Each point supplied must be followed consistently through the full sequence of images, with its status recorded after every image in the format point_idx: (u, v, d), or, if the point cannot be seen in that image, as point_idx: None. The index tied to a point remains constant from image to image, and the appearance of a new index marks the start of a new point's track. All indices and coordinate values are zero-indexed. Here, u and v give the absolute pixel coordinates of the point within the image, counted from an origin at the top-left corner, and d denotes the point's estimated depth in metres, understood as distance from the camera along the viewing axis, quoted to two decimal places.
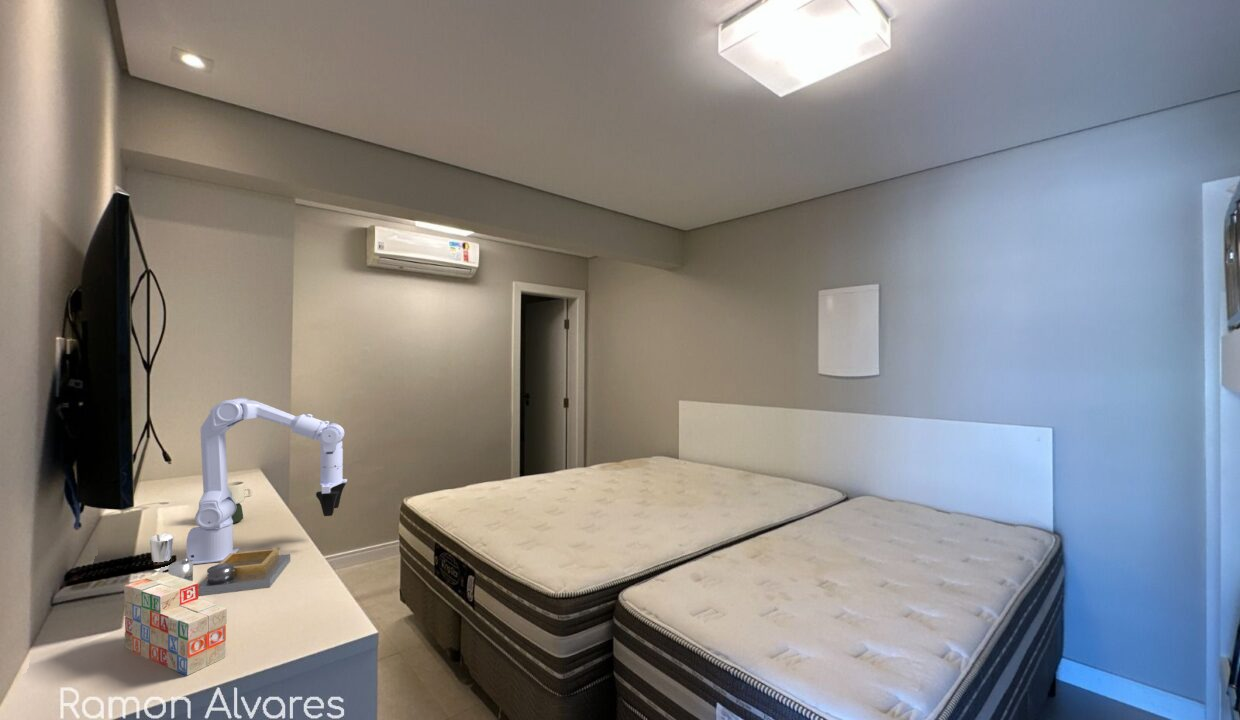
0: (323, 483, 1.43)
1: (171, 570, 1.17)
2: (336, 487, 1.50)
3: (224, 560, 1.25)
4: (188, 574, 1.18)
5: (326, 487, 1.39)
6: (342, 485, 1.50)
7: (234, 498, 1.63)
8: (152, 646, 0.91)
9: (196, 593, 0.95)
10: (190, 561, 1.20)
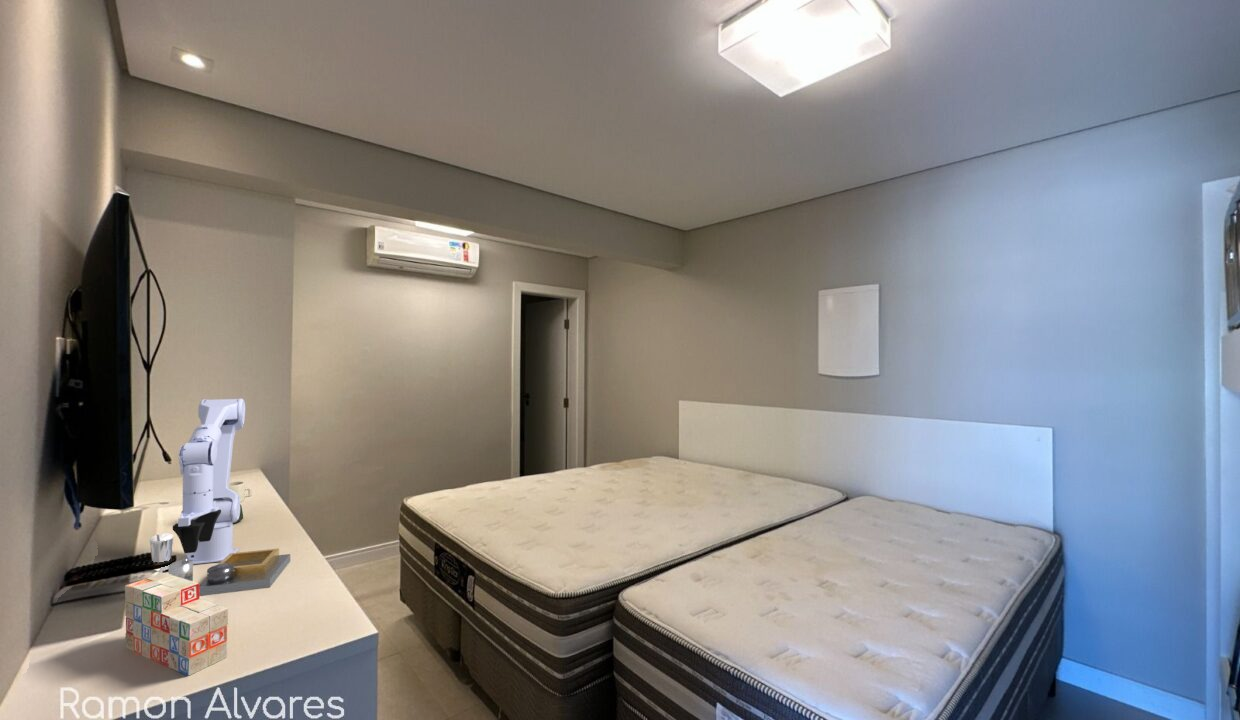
0: (185, 513, 1.18)
1: (171, 570, 1.17)
2: (207, 516, 1.25)
3: (224, 560, 1.25)
4: (188, 574, 1.18)
5: (184, 518, 1.15)
6: (215, 514, 1.25)
7: None
8: (153, 646, 0.91)
9: (197, 594, 0.95)
10: (190, 561, 1.20)
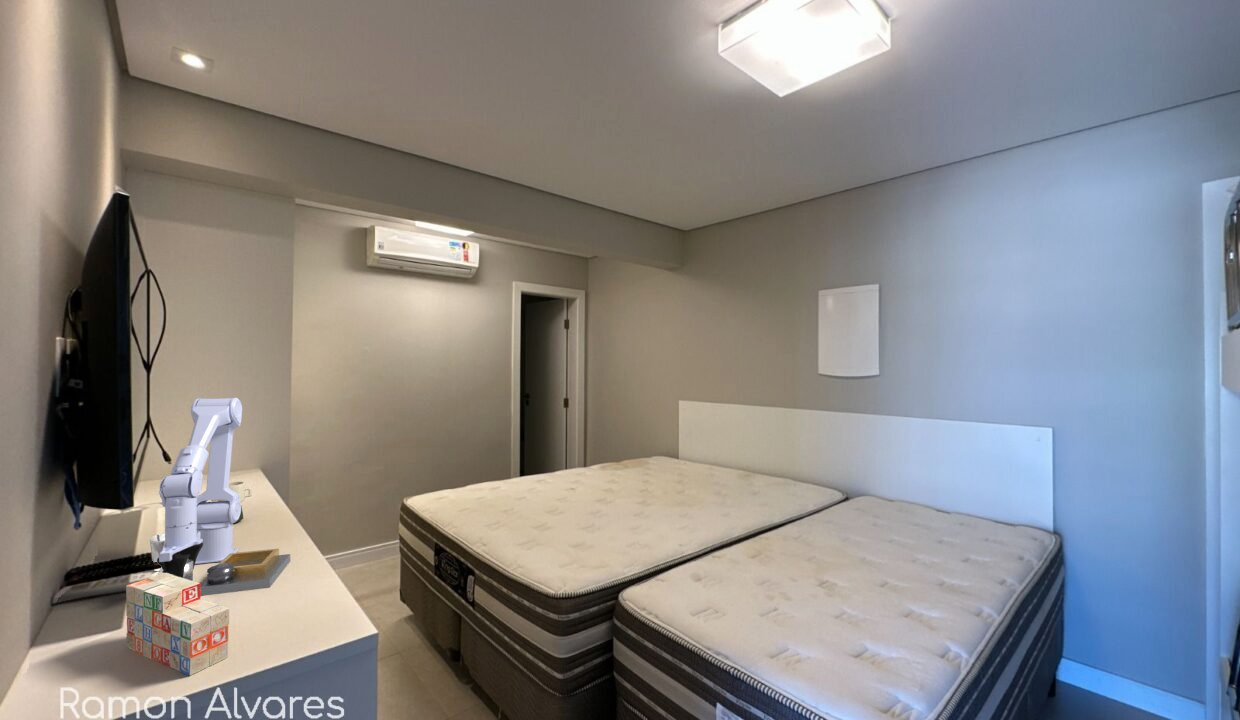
0: (167, 547, 1.16)
1: None
2: (188, 550, 1.21)
3: (224, 560, 1.25)
4: (188, 574, 1.18)
5: (165, 554, 1.12)
6: (196, 547, 1.22)
7: None
8: (154, 646, 0.91)
9: (198, 593, 0.95)
10: (190, 561, 1.20)
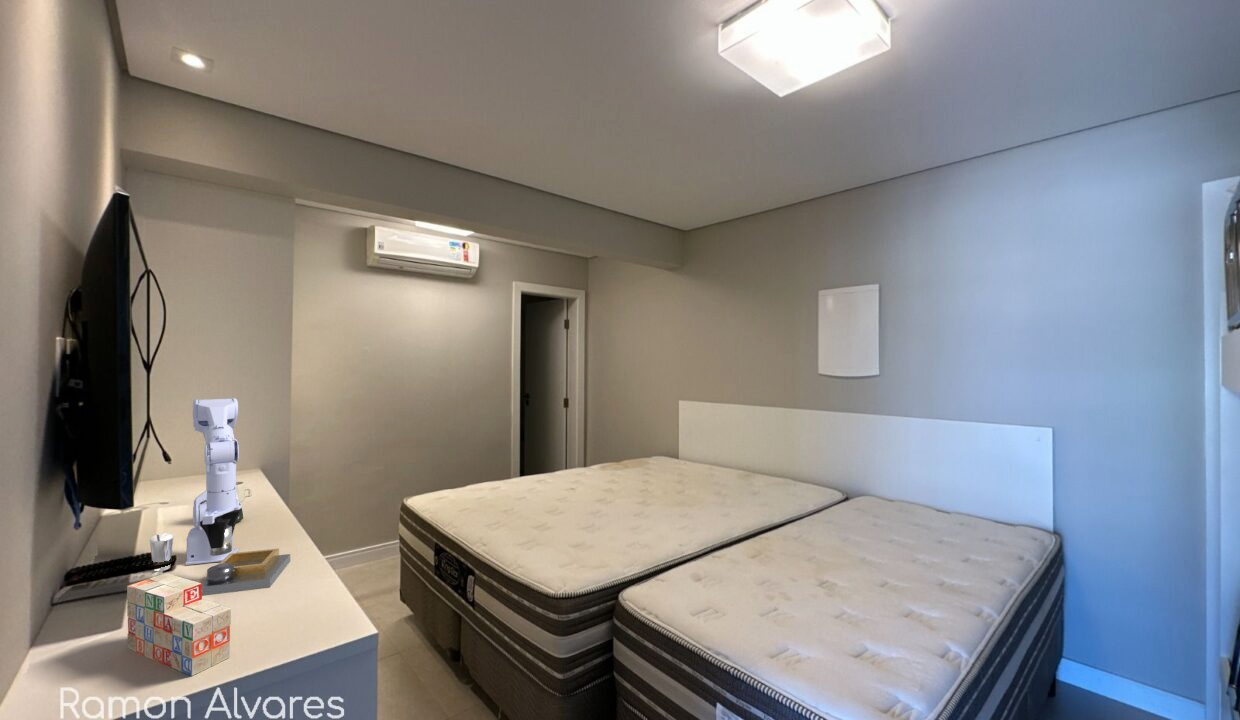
0: (209, 511, 1.20)
1: None
2: (228, 516, 1.26)
3: (224, 560, 1.25)
4: (228, 538, 1.23)
5: (208, 517, 1.17)
6: (236, 513, 1.26)
7: None
8: (156, 647, 0.91)
9: (200, 594, 0.95)
10: (229, 526, 1.24)
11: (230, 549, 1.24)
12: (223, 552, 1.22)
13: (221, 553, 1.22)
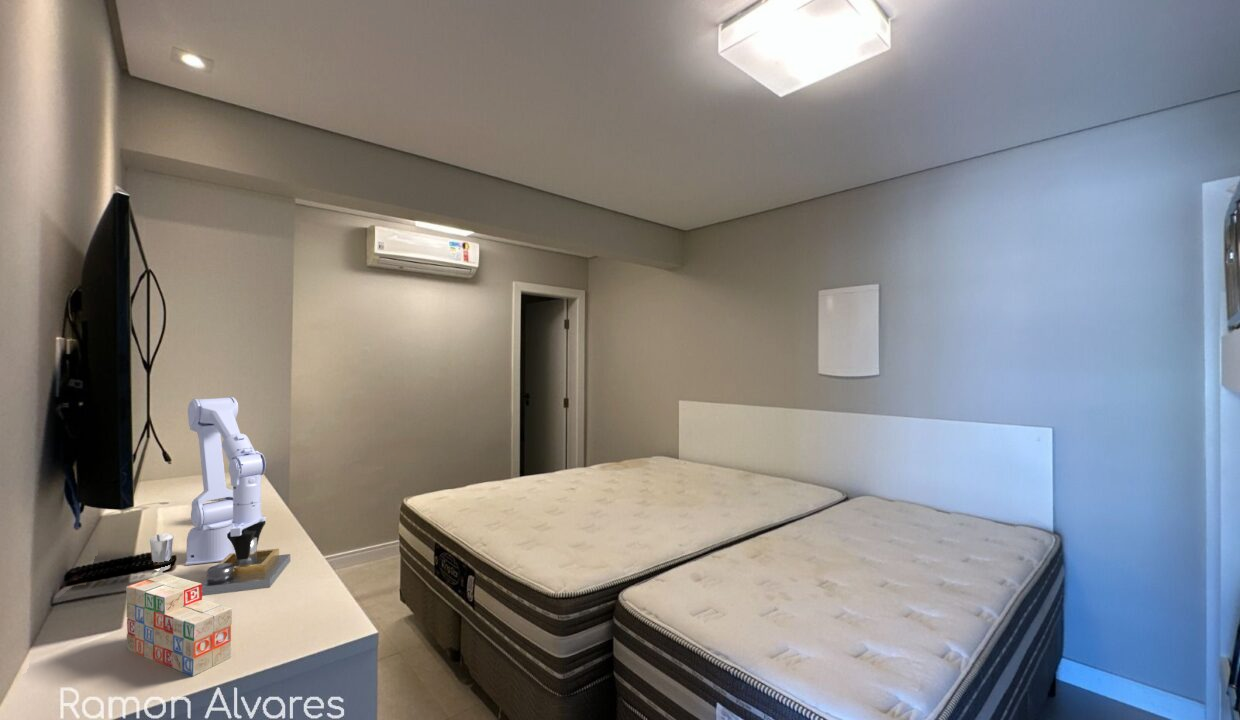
0: (235, 523, 1.24)
1: None
2: (253, 527, 1.29)
3: (224, 560, 1.25)
4: (253, 549, 1.26)
5: (236, 529, 1.20)
6: (260, 525, 1.29)
7: None
8: (156, 647, 0.91)
9: (200, 594, 0.95)
10: (254, 537, 1.28)
11: (255, 560, 1.27)
12: (249, 563, 1.25)
13: (247, 564, 1.25)
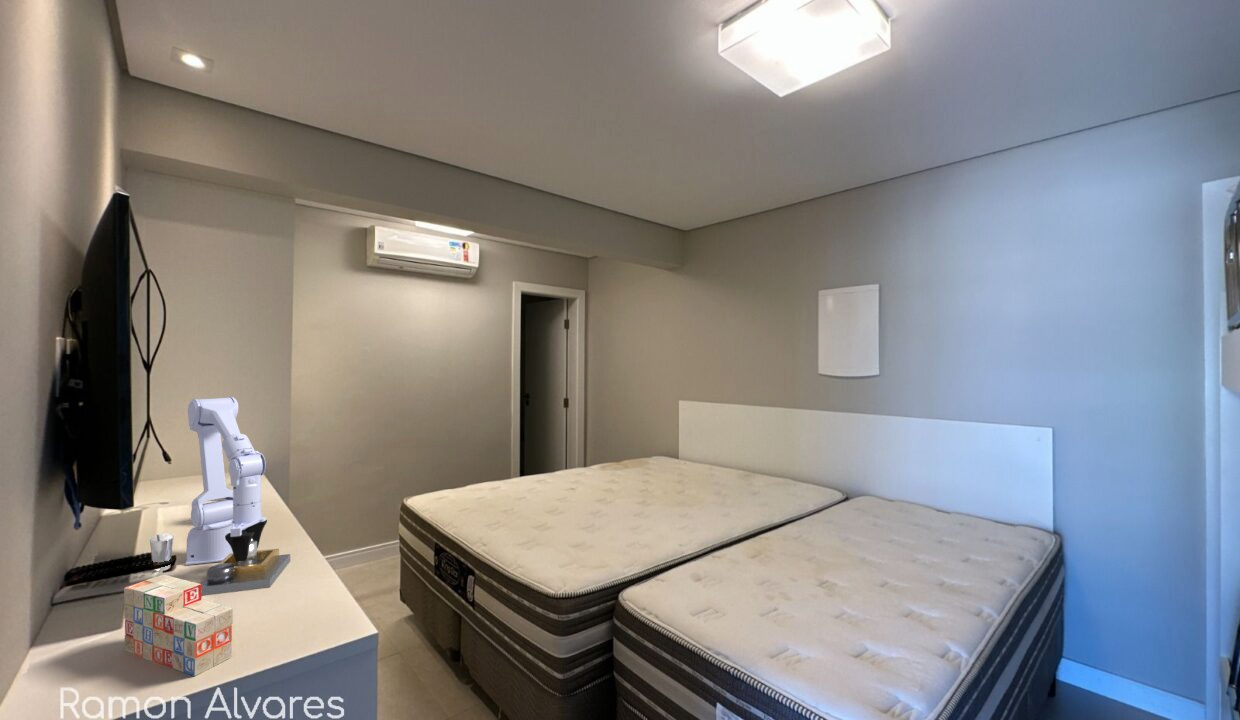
0: (235, 523, 1.24)
1: None
2: (254, 526, 1.30)
3: (224, 560, 1.25)
4: (253, 553, 1.26)
5: (236, 529, 1.20)
6: (262, 523, 1.30)
7: None
8: (155, 648, 0.90)
9: (200, 594, 0.95)
10: (254, 541, 1.28)
11: (255, 563, 1.27)
12: None
13: None
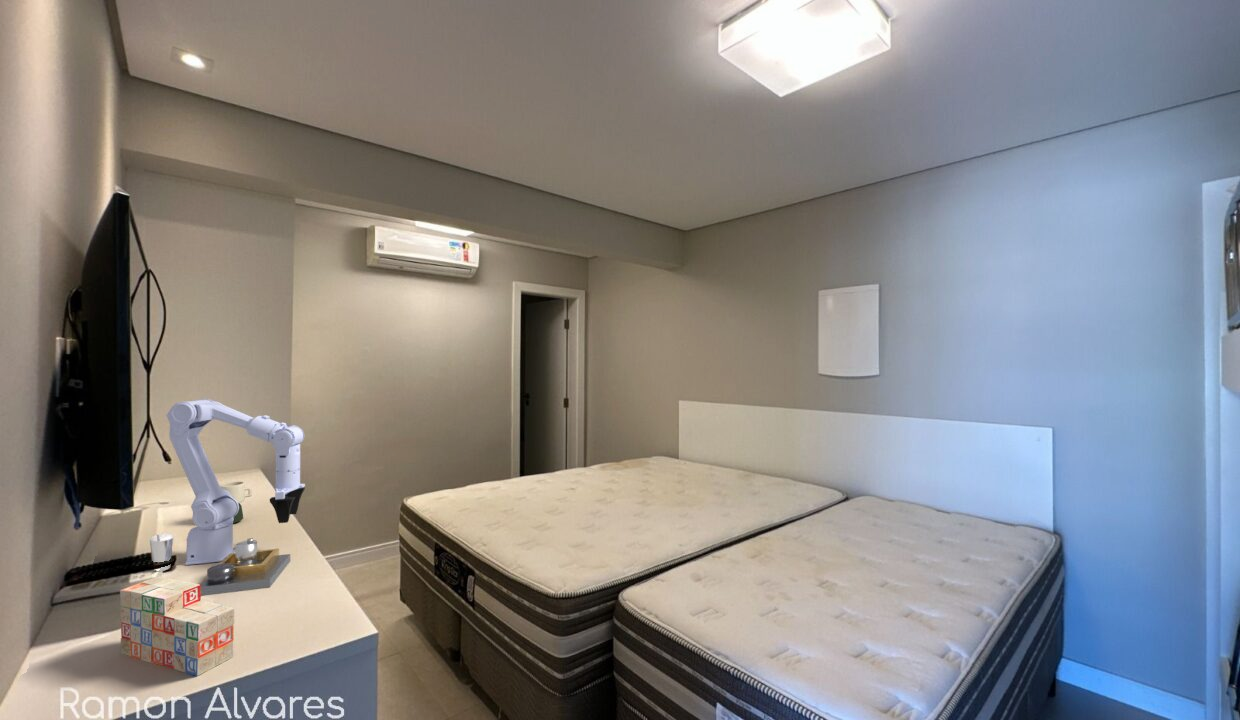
0: (278, 488, 1.36)
1: (239, 549, 1.24)
2: (294, 492, 1.43)
3: (224, 560, 1.25)
4: (253, 553, 1.26)
5: (280, 492, 1.32)
6: (300, 490, 1.43)
7: (234, 498, 1.63)
8: (155, 649, 0.90)
9: (199, 595, 0.95)
10: (254, 541, 1.28)
11: (255, 563, 1.27)
12: None
13: None
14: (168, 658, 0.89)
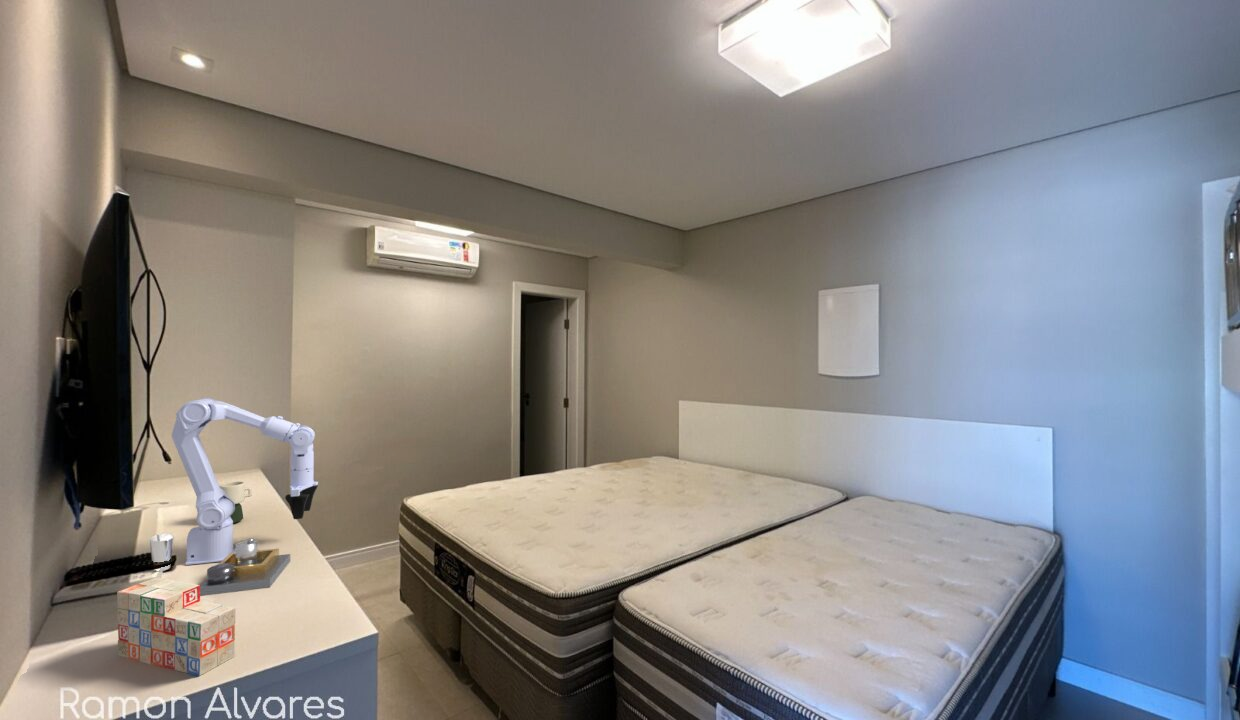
0: (293, 486, 1.42)
1: (239, 549, 1.24)
2: (307, 490, 1.49)
3: (224, 560, 1.25)
4: (253, 553, 1.26)
5: (295, 490, 1.38)
6: (314, 488, 1.49)
7: (234, 498, 1.63)
8: (154, 651, 0.90)
9: (198, 596, 0.94)
10: (255, 541, 1.28)
11: (255, 563, 1.27)
12: None
13: None
14: (168, 659, 0.89)
